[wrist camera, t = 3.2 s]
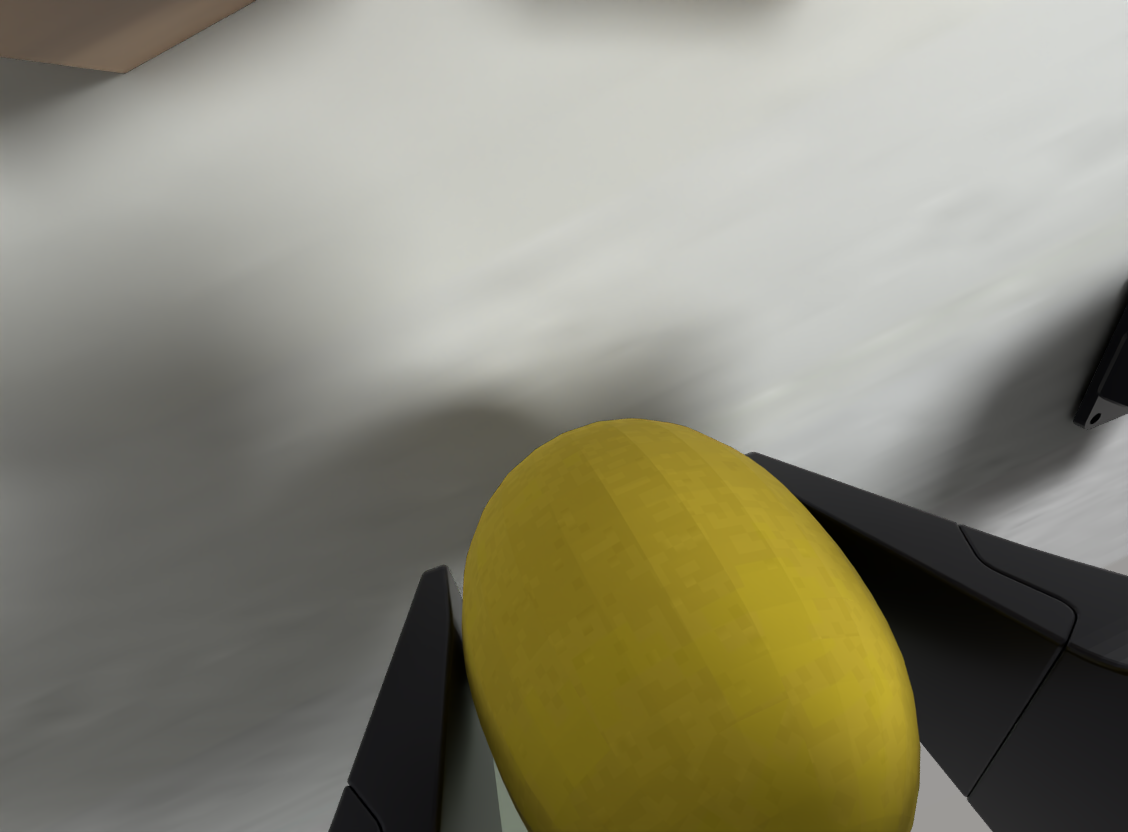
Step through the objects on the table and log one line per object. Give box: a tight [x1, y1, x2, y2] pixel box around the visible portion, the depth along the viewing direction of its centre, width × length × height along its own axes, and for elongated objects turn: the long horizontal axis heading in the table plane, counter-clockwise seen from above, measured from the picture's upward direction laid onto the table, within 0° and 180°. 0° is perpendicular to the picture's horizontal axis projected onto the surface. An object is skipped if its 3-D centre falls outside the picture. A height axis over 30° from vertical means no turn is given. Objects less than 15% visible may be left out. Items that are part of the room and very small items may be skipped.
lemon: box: [462, 418, 920, 832], centre depth 8 cm, size 6×6×8 cm
